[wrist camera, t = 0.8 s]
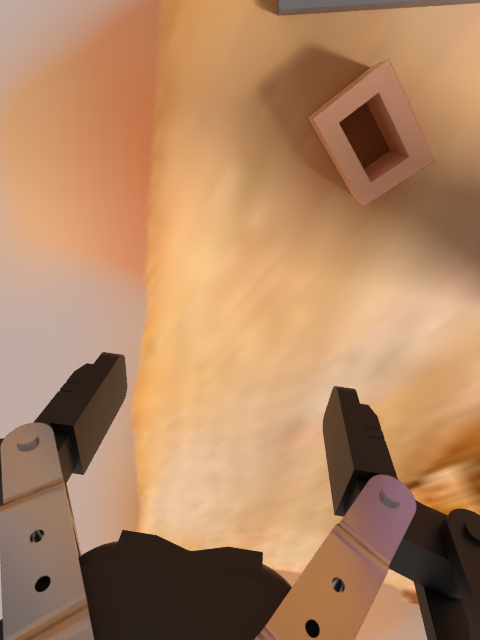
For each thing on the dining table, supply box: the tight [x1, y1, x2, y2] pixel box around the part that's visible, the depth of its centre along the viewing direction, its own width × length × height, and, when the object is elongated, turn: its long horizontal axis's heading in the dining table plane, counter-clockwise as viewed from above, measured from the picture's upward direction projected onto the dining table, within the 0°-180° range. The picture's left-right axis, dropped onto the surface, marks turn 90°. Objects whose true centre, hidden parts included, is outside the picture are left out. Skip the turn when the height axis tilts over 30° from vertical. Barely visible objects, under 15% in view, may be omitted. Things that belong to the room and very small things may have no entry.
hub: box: [308, 59, 434, 207], centre depth 25 cm, size 5×7×4 cm
